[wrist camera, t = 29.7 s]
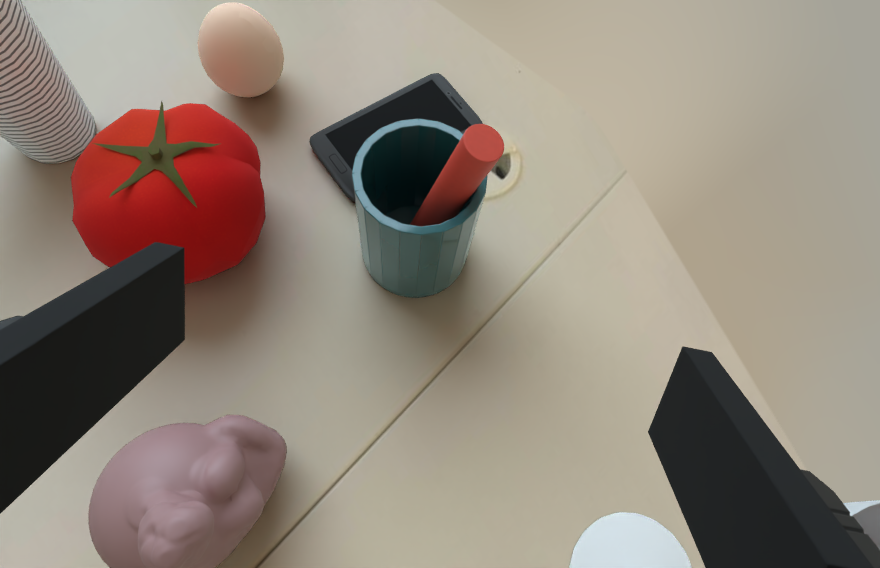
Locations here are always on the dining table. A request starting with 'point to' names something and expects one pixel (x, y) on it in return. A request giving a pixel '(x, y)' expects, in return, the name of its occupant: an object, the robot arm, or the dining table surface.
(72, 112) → the cup
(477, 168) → the red round dowel
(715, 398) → the robot arm
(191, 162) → the tomato
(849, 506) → the wineglass
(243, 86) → the egg
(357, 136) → the cell phone
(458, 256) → the teal pencil holder
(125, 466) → the figurine
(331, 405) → the dining table surface
